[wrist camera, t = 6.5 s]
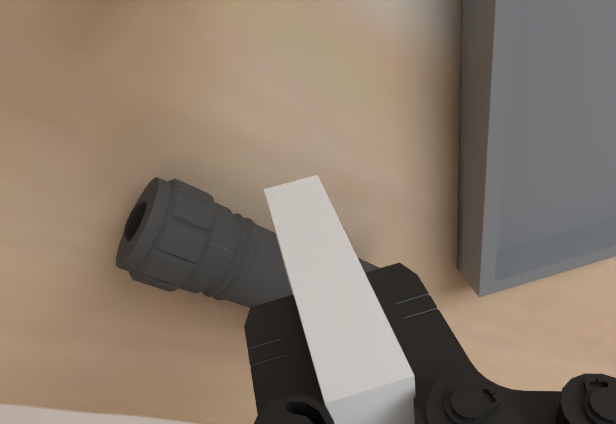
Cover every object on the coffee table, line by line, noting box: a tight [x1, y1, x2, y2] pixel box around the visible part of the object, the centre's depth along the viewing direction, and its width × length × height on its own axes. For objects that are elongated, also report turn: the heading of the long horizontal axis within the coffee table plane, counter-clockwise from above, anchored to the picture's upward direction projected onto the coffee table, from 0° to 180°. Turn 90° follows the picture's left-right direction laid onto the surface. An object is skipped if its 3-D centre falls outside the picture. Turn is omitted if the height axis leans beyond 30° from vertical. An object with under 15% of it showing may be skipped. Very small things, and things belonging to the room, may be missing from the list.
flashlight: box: [116, 177, 379, 308], centre depth 26 cm, size 15×5×5 cm
